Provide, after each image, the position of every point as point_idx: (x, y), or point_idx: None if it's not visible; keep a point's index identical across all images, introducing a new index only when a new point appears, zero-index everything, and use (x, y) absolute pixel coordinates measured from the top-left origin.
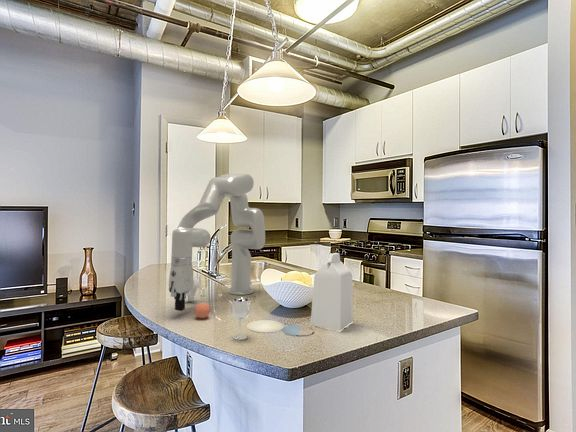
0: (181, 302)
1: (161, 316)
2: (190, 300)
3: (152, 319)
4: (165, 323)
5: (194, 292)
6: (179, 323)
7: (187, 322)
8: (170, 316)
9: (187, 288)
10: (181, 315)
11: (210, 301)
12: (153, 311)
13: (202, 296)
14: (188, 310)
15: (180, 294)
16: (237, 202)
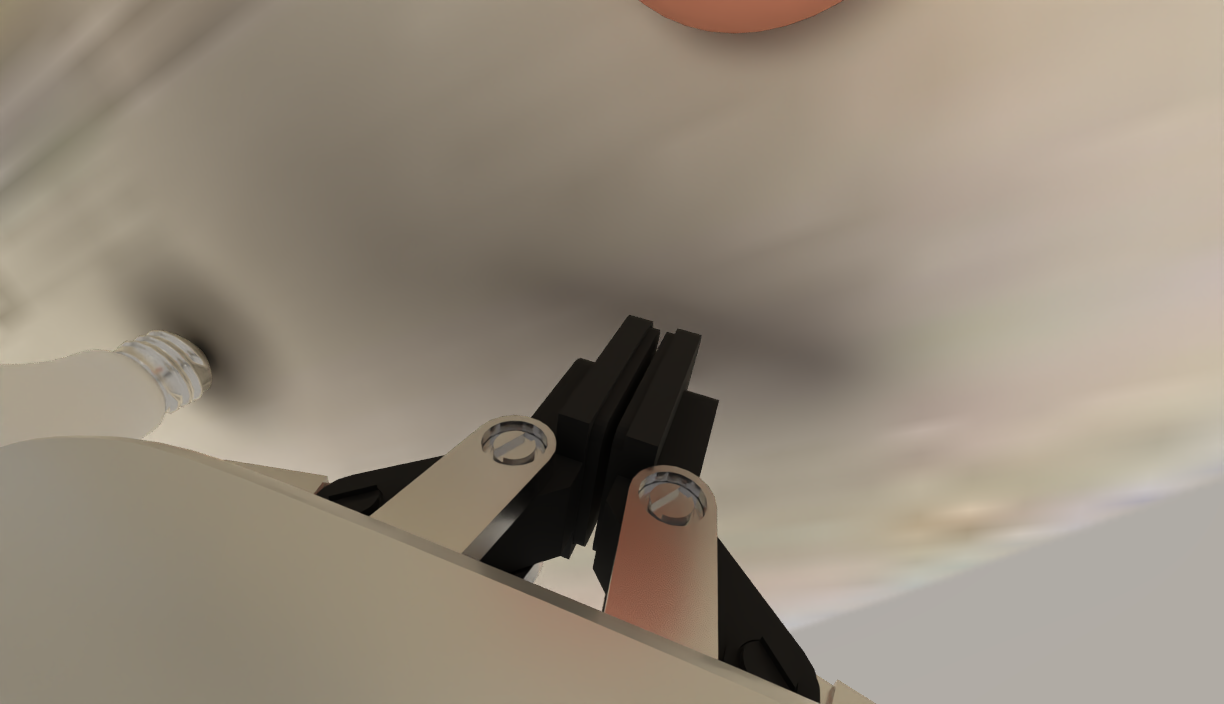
0: (664, 433)
1: (748, 519)
2: (193, 364)
3: (881, 583)
4: (1114, 426)
5: (47, 374)
6: (1165, 205)
7: (1111, 62)
8: (734, 432)
9: (375, 676)
10: (666, 313)
11: (39, 145)
12: (592, 597)
13: (12, 298)
14: (440, 290)
15: (708, 646)
16: None
